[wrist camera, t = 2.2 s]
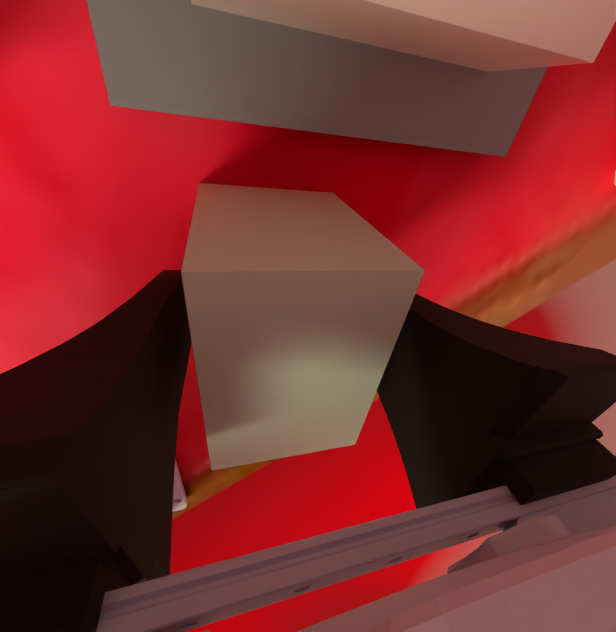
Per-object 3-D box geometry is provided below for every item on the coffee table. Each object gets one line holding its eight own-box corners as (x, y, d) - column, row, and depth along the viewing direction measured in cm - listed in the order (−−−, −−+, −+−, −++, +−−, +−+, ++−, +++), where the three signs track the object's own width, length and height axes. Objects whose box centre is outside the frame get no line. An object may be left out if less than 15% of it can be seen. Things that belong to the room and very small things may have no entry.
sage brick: (309, 329, 14) (355, 444, 9) (213, 335, 13) (211, 470, 8) (332, 192, 10) (425, 269, 6) (199, 182, 9) (180, 272, 4)
